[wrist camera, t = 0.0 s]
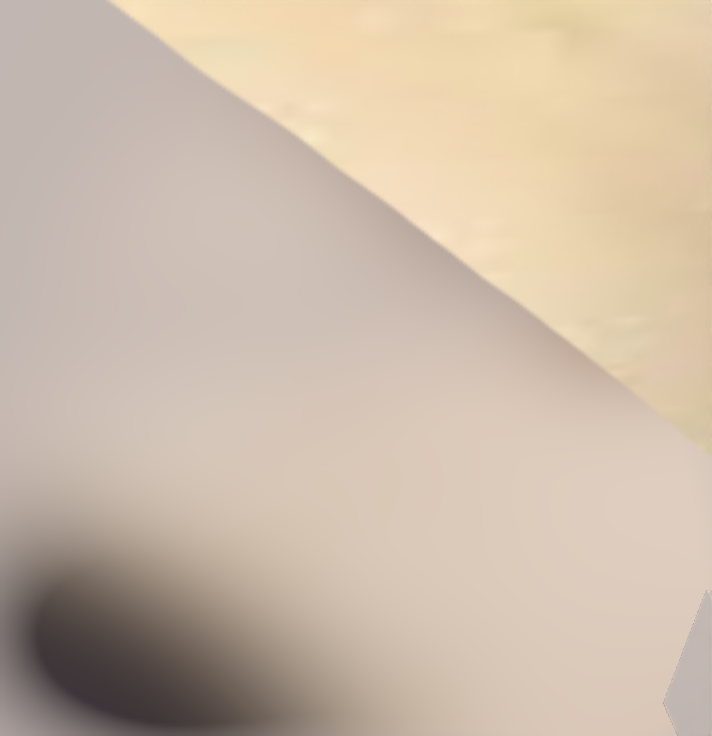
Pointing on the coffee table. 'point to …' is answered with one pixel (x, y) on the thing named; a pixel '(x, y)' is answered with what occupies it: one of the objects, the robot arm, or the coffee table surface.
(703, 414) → the coffee table surface
